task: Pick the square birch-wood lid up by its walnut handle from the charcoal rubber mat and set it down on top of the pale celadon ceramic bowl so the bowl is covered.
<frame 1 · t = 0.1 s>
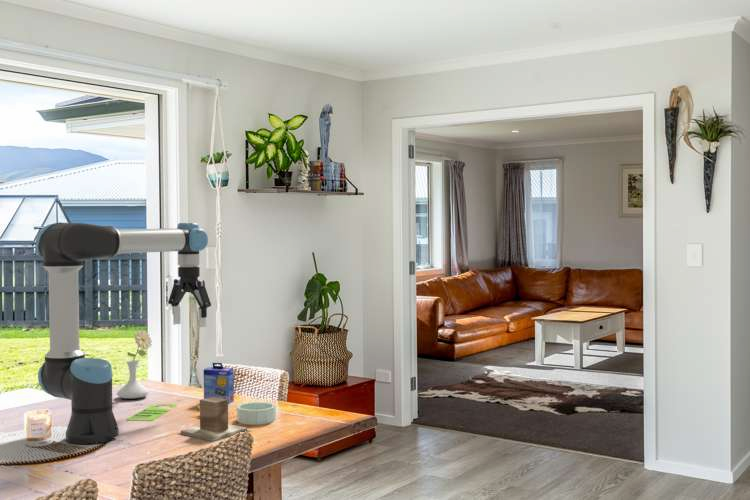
hand: (189, 325, 294), 28 cm above the table, tool pointing down, fingers open, 13 cm apart
bowl: (256, 422, 266), on the table
ink cartridge box: (218, 402, 297), on the table
mat: (214, 435, 251), on the table
teapot: (208, 418, 272), on the table
lid: (214, 432, 250), point 1 cm above the table, touching mat
flower in vase: (135, 397, 305), on the table
door hanger: (154, 413, 282), on the table
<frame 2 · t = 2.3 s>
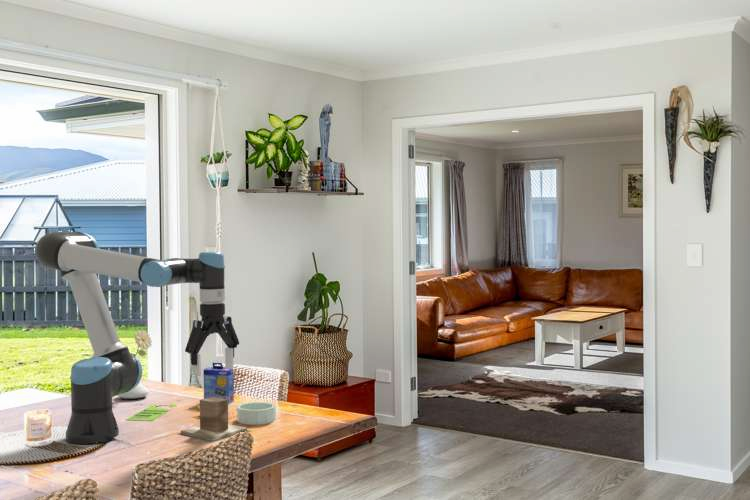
hand: (213, 372, 251), 19 cm above the table, tool pointing down, fingers open, 13 cm apart
nothing on the table moved.
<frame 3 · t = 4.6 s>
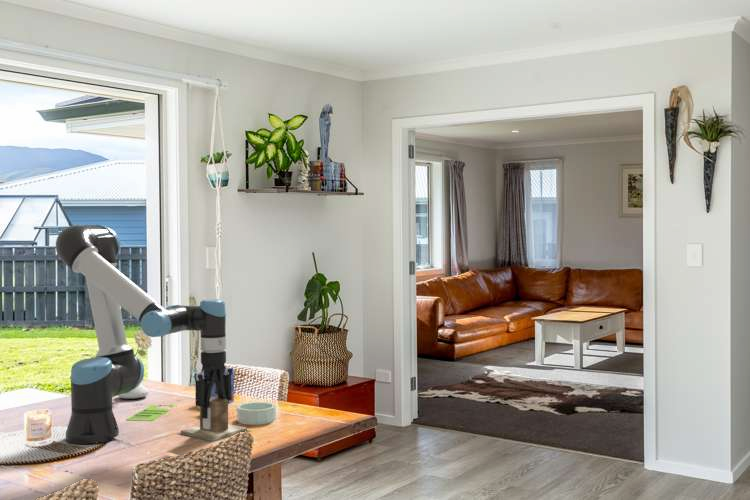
hand: (214, 426, 250), 3 cm above the table, tool pointing down, fingers closed on lid, 5 cm apart
lid: (214, 432, 250), point 1 cm above the table, touching gripper, mat
everything else where it was.
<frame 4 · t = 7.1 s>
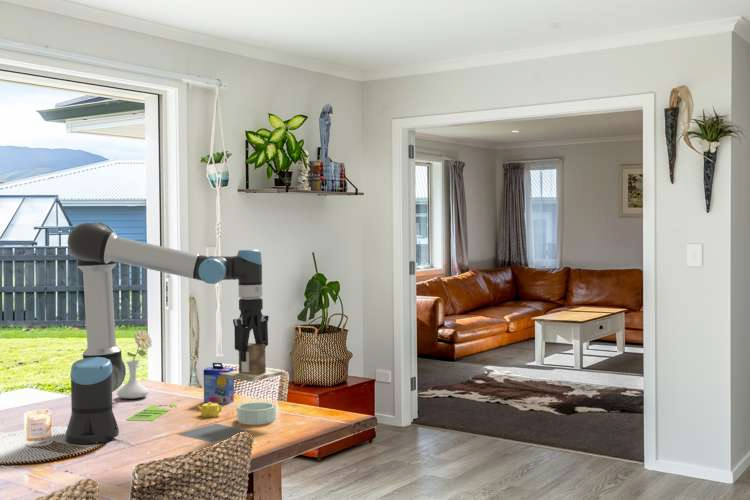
hand: (252, 370, 264), 17 cm above the table, tool pointing down, fingers closed on lid, 5 cm apart
lid: (252, 375, 264), point 16 cm above the table, touching gripper
everything else where it was.
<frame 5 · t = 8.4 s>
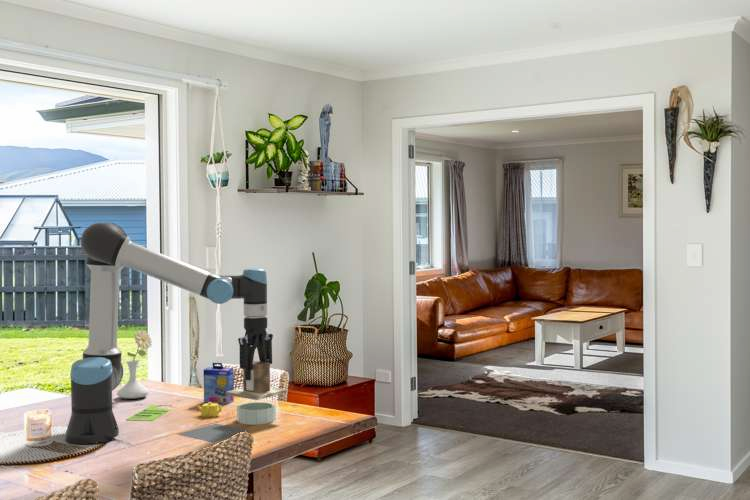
hand: (256, 388, 266), 11 cm above the table, tool pointing down, fingers closed on lid, 5 cm apart
lid: (256, 393, 266), point 9 cm above the table, touching gripper
everything else where it was.
when the fingers open (8 cm above the table, at t = 9.5 s): lid drops 2 cm, resting on bowl.
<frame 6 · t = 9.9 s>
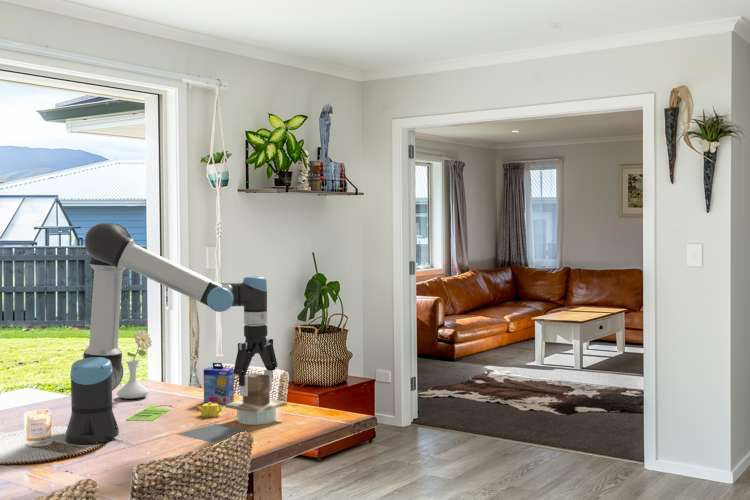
hand: (256, 392, 266), 10 cm above the table, tool pointing down, fingers open, 10 cm apart
lid: (256, 406, 266), point 5 cm above the table, touching bowl
everything else where it was.
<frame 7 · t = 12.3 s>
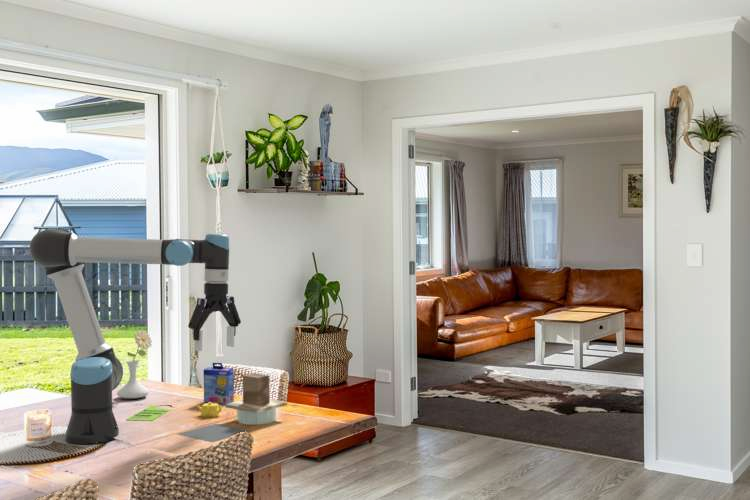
hand: (214, 348, 264), 24 cm above the table, tool pointing down, fingers open, 13 cm apart
nothing on the table moved.
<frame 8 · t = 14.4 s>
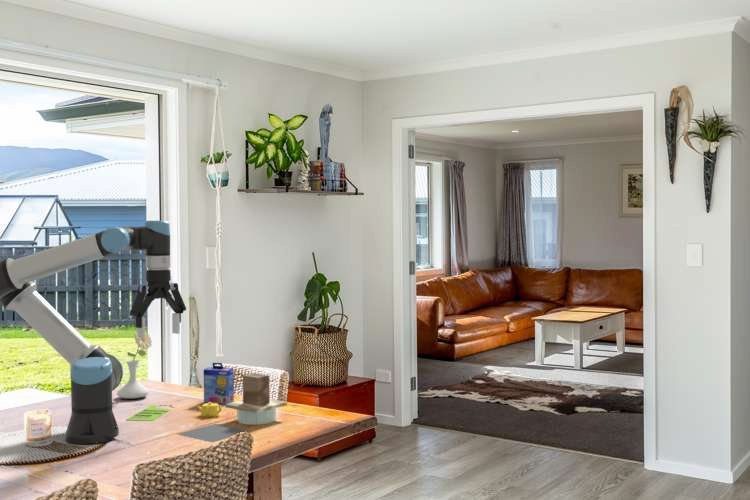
hand: (159, 335, 262), 29 cm above the table, tool pointing down, fingers open, 13 cm apart
nothing on the table moved.
at the end: lid 0.0 cm off-centre on the bowl, point 5.2 cm above the bowl's base; lid tilted 0°; the gripper is holding nothing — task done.
